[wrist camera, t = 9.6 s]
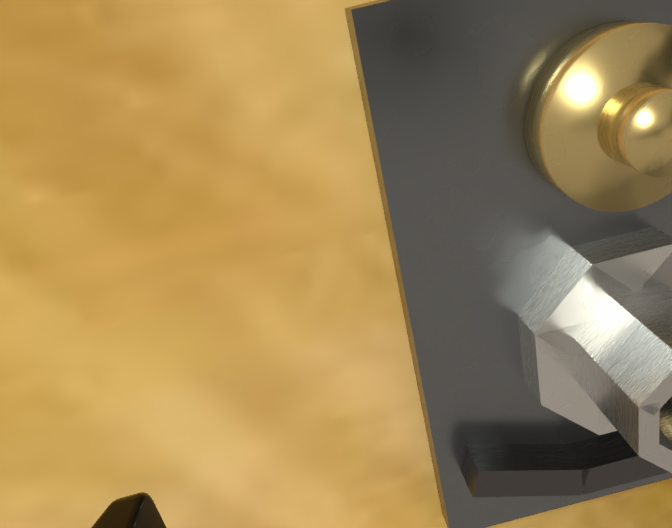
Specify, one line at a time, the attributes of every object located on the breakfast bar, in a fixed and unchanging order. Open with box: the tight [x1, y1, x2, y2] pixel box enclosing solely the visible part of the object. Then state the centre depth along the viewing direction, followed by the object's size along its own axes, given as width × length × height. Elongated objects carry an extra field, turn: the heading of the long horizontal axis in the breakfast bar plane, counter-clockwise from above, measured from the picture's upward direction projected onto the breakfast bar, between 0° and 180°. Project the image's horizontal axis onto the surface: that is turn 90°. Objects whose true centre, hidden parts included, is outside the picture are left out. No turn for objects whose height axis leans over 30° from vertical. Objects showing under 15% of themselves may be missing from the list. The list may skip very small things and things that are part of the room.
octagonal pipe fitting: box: [517, 226, 672, 473], centre depth 19 cm, size 7×7×5 cm
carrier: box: [345, 0, 672, 528], centre depth 20 cm, size 14×20×4 cm
